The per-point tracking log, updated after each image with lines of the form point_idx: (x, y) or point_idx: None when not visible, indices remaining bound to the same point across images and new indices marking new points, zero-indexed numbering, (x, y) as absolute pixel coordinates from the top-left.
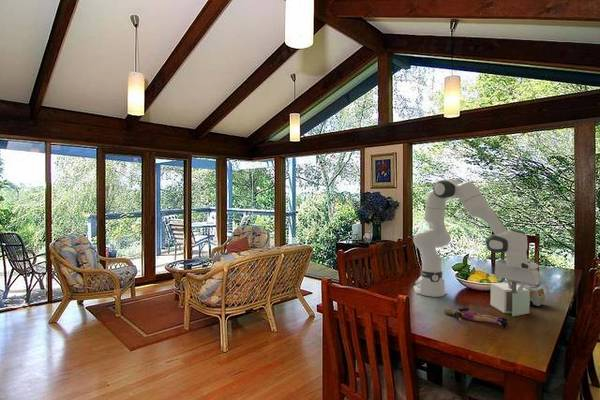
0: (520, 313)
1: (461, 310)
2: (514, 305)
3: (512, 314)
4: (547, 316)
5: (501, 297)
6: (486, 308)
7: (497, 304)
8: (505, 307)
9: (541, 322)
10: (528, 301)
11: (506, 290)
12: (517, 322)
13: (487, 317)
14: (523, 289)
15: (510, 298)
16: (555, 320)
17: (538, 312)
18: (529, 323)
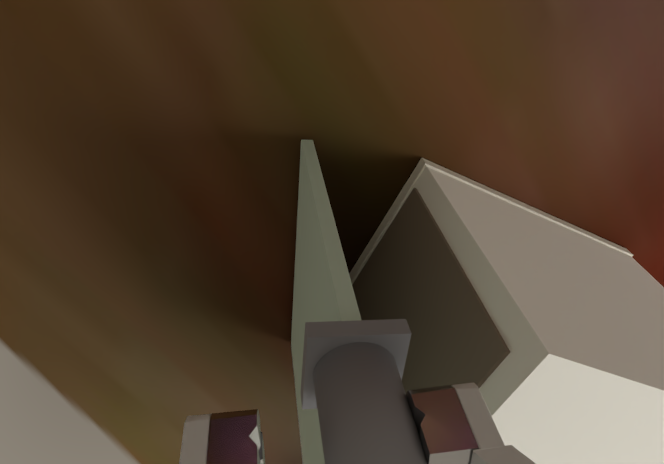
0: (296, 253)
1: None
2: (313, 224)
3: (309, 147)
4: (185, 406)
5: (539, 273)
6: (611, 116)
7: (549, 232)
8: (433, 201)
9: (72, 251)
10: (300, 433)
11: (519, 368)
12: (143, 6)
13: None
14: None
15: (434, 320)
16: (87, 387)
17: (281, 419)
18: (75, 113)
